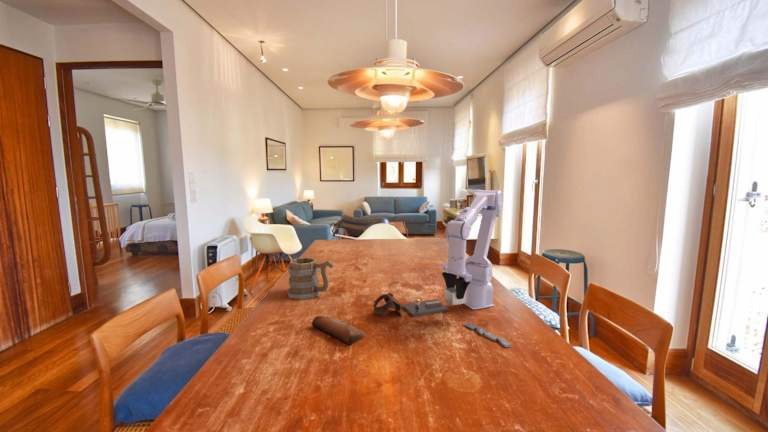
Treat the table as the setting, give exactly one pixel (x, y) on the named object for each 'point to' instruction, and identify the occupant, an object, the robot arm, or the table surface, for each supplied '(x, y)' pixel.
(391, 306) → the pottery mug
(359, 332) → the sunglasses case
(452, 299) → the end link
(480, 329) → the chain
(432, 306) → the keeper
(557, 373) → the table surface
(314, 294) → the tankard
